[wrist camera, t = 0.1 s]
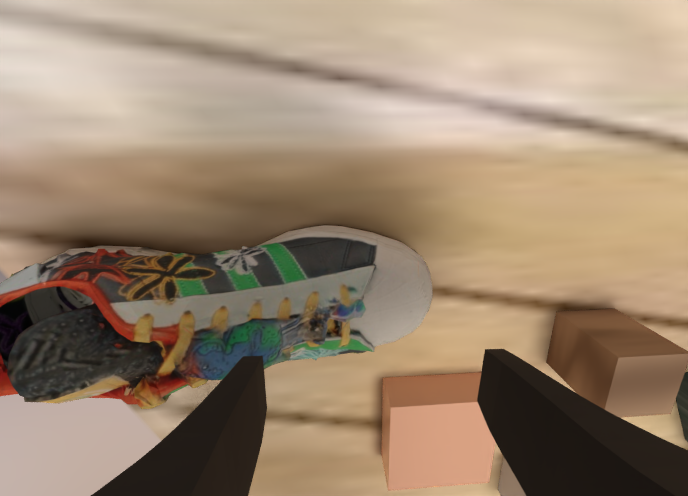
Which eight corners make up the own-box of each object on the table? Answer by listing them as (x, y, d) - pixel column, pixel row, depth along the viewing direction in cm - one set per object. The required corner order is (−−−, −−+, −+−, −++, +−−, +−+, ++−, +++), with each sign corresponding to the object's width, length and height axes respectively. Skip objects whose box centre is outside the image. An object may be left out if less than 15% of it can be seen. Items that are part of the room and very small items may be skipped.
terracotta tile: (470, 444, 26) (489, 482, 23) (380, 451, 26) (388, 490, 23) (480, 368, 24) (502, 400, 21) (382, 374, 23) (390, 407, 21)
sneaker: (417, 331, 22) (481, 470, 13) (82, 345, 21) (-105, 505, 12) (423, 219, 20) (507, 292, 11) (47, 230, 19) (-219, 319, 10)
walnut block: (601, 358, 24) (670, 414, 19) (546, 362, 24) (602, 418, 19) (613, 308, 23) (691, 353, 18) (555, 311, 22) (618, 357, 18)
